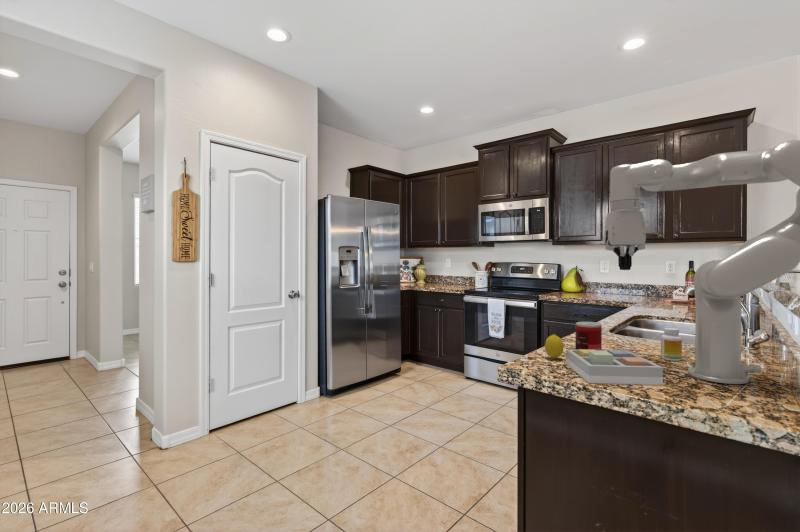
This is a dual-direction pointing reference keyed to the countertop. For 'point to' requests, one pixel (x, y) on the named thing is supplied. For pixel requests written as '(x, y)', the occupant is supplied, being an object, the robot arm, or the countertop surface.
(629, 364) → the key terracotta
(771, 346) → the countertop surface
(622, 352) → the key slate
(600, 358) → the key sage
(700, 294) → the robot arm
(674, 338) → the supplement bottle
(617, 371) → the keypad
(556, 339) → the lemon
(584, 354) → the key mustard
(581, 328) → the canned food
